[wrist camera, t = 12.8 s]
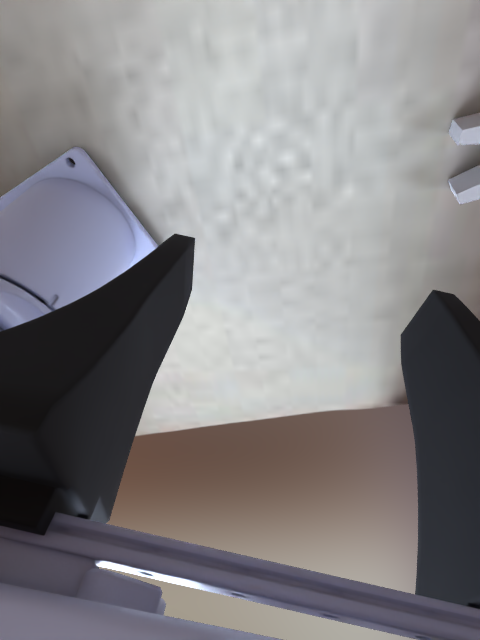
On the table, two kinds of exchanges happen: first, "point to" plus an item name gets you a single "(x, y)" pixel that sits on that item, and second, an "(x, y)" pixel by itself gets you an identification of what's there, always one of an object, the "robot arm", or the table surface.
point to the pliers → (475, 180)
